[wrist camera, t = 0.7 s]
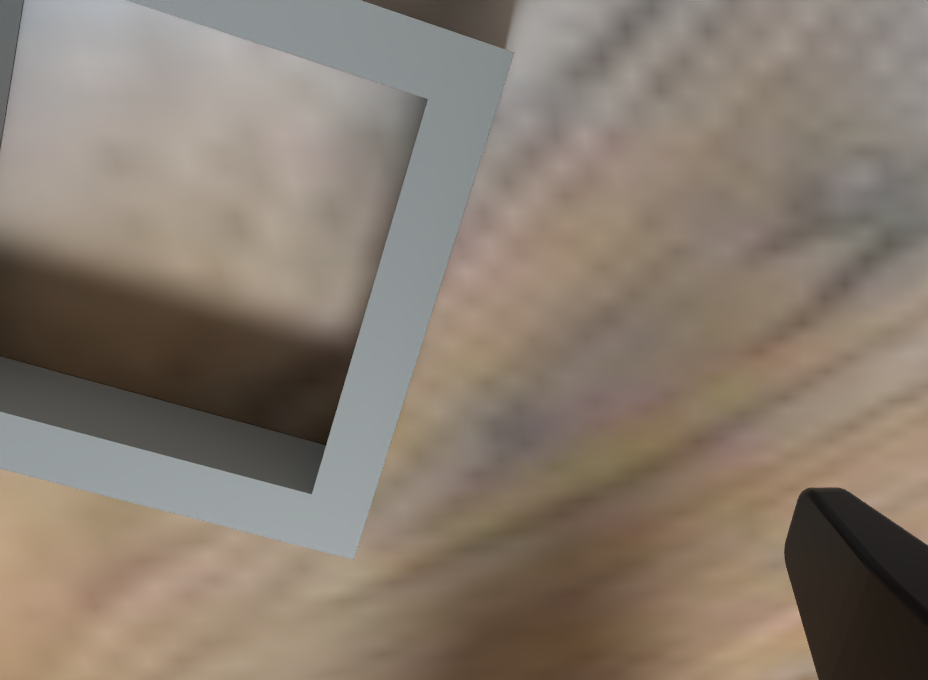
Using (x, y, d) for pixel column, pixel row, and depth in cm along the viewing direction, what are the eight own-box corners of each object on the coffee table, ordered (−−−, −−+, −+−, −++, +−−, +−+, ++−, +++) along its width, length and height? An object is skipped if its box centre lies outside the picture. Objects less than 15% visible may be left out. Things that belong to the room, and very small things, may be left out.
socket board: (363, 504, 24) (353, 559, 21) (-96, 382, 23) (-172, 424, 20) (503, 57, 21) (514, 52, 18) (-27, -123, 19) (-107, -160, 16)
